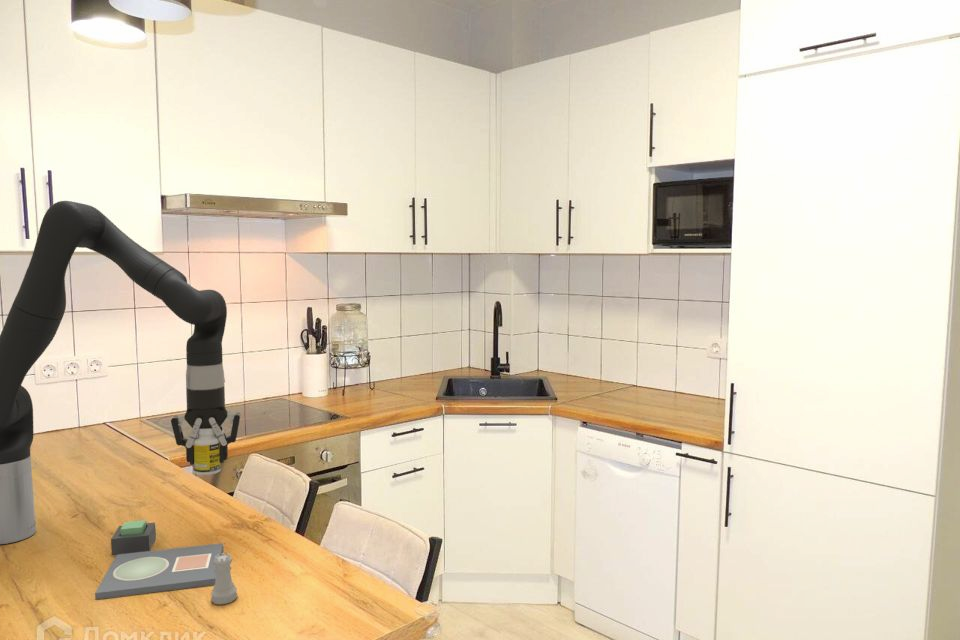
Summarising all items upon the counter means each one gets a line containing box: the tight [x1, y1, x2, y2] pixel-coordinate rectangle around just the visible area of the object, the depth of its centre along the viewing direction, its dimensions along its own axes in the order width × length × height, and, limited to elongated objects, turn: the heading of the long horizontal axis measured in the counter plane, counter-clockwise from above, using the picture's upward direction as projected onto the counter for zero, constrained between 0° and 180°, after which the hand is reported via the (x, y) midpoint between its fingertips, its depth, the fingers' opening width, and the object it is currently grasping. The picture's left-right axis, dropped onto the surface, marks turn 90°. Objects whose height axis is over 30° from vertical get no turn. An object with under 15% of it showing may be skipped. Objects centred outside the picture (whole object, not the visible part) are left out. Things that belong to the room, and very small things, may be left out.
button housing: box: [110, 521, 157, 557], centre depth 143 cm, size 7×7×4 cm
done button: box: [120, 519, 147, 536], centre depth 142 cm, size 4×4×2 cm
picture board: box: [94, 542, 225, 601], centre depth 131 cm, size 20×16×1 cm
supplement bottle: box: [193, 428, 222, 476], centre depth 146 cm, size 5×5×10 cm
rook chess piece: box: [210, 552, 238, 606], centre depth 121 cm, size 4×4×8 cm
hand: (207, 462), depth 146 cm, fingers closed on supplement bottle, 5 cm apart
